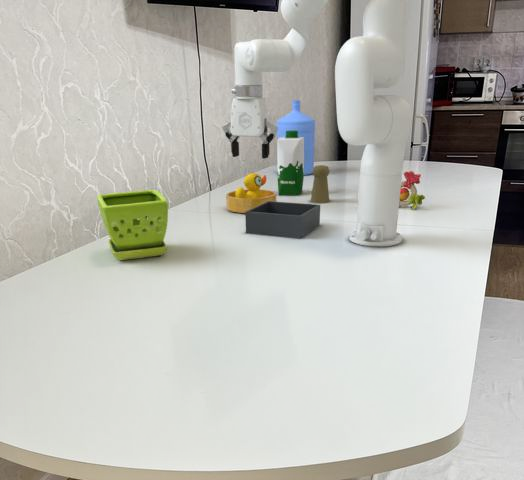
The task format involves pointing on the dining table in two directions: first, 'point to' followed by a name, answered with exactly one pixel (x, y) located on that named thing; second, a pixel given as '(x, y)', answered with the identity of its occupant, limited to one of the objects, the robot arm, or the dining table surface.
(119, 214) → the flower pot
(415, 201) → the bird rattle
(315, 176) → the cork
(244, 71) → the robot arm
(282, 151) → the milk carton
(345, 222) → the dining table surface
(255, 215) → the bin
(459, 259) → the dining table surface
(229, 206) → the bowl
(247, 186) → the duckling
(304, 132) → the water jug
